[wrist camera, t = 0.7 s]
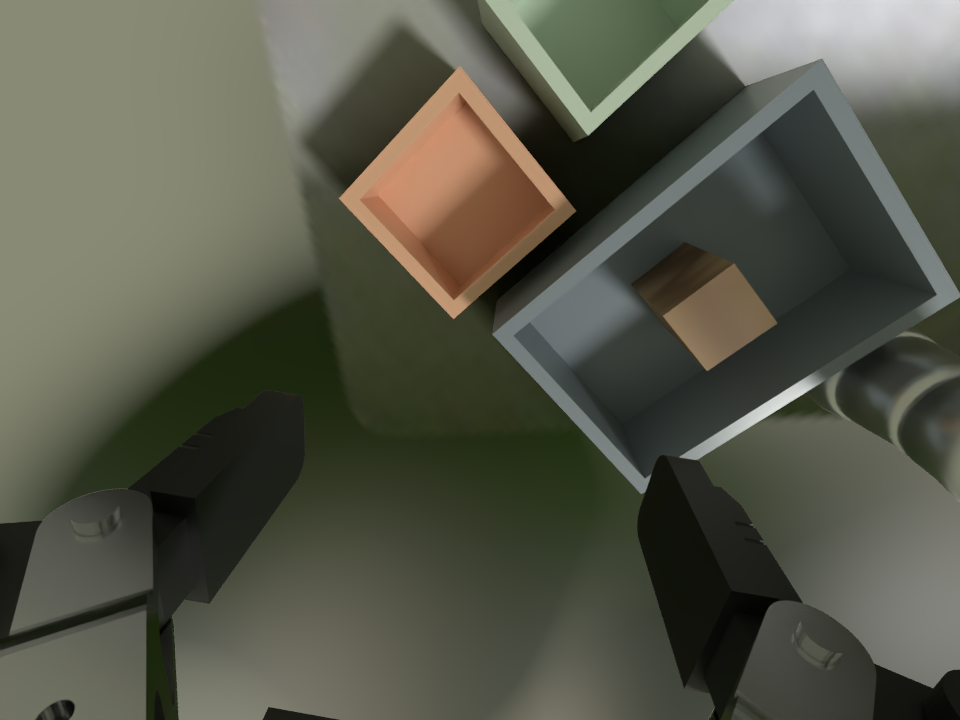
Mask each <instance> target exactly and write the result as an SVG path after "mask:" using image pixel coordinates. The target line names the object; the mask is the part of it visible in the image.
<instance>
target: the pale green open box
mask: <svg viewBox="0 0 960 720" xmlns="http://www.w3.org/2000/svg"><path fill="white" fill-rule="evenodd" d="M477 1H478V6H479V10H480V15H481V19H482V24H483V26H484V27H485V29H486V30H487V31H488V33H489V34H490V35H491V36H492V38H493V39H494V40H495V42H496V43H497V44H498V46H499V47H500V48H501V49H502V51H503V52H504V53H505V55H506V56H507V57H508V59H509V60H510V61H511V62H512V64H513V65H514V66H515V68H516V69H517V70H518V71H519V73H520V74H521V75H522V77H523V78H524V79H525V81H526V82H527V83H528V84H529V86H530V87H531V88H532V90H533V91H534V92H535V94H536V95H537V96H538V97H539V99H540V100H541V101H542V103H543V104H544V105H545V107H546V108H547V109H548V110H549V112H550V113H551V114H552V116H553V117H554V118H555V119H556V121H557V122H558V123H559V125H560V126H561V127H562V129H563V130H564V131H565V132H566V134H567V135H568V136H569V138H570V139H571V140H572V142H575V141H578V140H580V139H582V138H584V137H586V136H588V135H589V134H590V133H592V132H593V131H594V130H595V129H596V128H597V127H598V126H599V125H600V124H601V123H602V122H603V121H604V120H606V119H607V118H608V117H609V116H610V115H611V114H612V113H613V112H614V111H615V110H616V109H617V108H618V107H620V106H621V105H622V104H623V103H624V102H625V101H626V100H627V99H628V98H629V97H630V96H631V95H632V94H634V93H635V92H636V91H637V90H638V89H639V88H640V87H641V86H642V85H643V84H644V83H645V82H646V81H648V80H649V79H650V78H651V77H652V76H653V75H654V74H655V73H656V72H657V71H658V70H659V69H660V68H662V67H663V66H664V65H665V64H666V63H667V62H668V61H669V60H670V59H671V58H672V57H673V56H674V55H676V54H677V53H678V52H679V51H680V50H681V49H682V48H683V47H684V46H685V45H686V44H687V43H688V42H690V41H691V40H692V39H693V38H694V37H695V36H696V35H697V34H698V33H699V32H700V31H701V30H702V29H703V28H705V27H706V26H707V25H708V24H709V23H710V22H711V21H712V20H713V19H714V18H715V17H716V16H717V15H719V14H720V13H721V12H722V11H723V10H724V9H725V8H726V7H727V6H728V5H729V4H730V3H731V2H733V1H734V0H477Z"/></svg>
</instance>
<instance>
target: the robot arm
mask: <svg viewBox="0 0 960 720" xmlns="http://www.w3.org/2000/svg"><path fill="white" fill-rule="evenodd" d="M304 437H305V435H304V403H303V399H302V397H301V396H300V395H294V394H289V393H282V392H276V391H270V390H265V391H263V392H262V393H261V394H260V395H259V396H258V397H256V398H255V399H254V400H253V401H252V402H250V403H249V404H248V405H247V406H246V407H245V408H244V409H242V408H235V409H233V410H231V411H229V412H226V413H224V414H222V415H219V416H217V417H215V418H213V419H212V420H211V421H209V422H208V423H207V424H206V425H205V426H203V427H202V428H201V429H200V430H199V431H197V434H196V435H193V436H191V437H190V438H189V439H188V440H186V441H185V442H184V443H183V445H182V447H178V448H177V449H175V450H174V451H173V452H172V453H171V454H169V455H168V456H167V457H166V458H165V459H163V460H162V461H161V462H160V463H158V464H157V465H156V466H155V467H154V468H152V469H151V470H150V471H149V472H148V473H147V474H145V475H144V476H143V477H141V478H140V479H139V480H138V481H137V482H135V483H134V484H133V485H132V486H131V487H129V488H128V489H109V490H103V491H98V492H95V493H90V494H87V495H84V496H81V497H79V498H77V499H74V500H72V501H70V502H68V503H66V504H64V505H62V506H61V507H59V508H58V509H56V510H54V511H53V512H52V513H51V514H49V515H48V516H47V517H46V518H45V519H44V520H43V521H32V522H17V523H5V524H4V523H3V524H0V720H179V716H178V697H177V696H178V695H177V677H176V676H177V675H176V657H175V636H174V622H173V617H172V615H173V613H174V612H175V611H176V610H177V608H178V607H179V606H180V604H181V603H182V602H183V600H184V599H186V600H191V601H197V602H203V603H208V604H209V603H210V602H211V600H212V599H213V598H214V596H215V595H216V593H217V592H218V591H219V589H220V588H221V586H222V585H223V583H224V582H225V581H226V579H227V578H228V577H229V575H230V574H231V572H232V571H233V570H234V568H235V567H236V565H237V564H238V562H239V561H240V560H241V558H242V557H243V556H244V554H245V553H246V551H247V550H248V549H249V547H250V546H251V544H252V543H253V542H254V540H255V539H256V537H257V536H258V534H259V533H260V532H261V530H262V529H263V528H264V526H265V525H266V523H267V522H268V520H269V519H270V518H271V516H272V515H273V513H274V512H275V511H276V509H277V508H278V507H279V505H280V504H281V502H282V501H283V499H284V498H285V497H286V495H287V494H288V492H289V491H290V490H291V488H292V487H293V485H294V484H295V483H296V481H297V480H298V477H299V476H300V473H301V470H302V467H303V463H304V456H305V438H304ZM637 532H638V538H639V542H640V545H641V549H642V552H643V555H644V558H645V562H646V565H647V568H648V571H649V575H650V578H651V581H652V585H653V588H654V591H655V595H656V598H657V601H658V604H659V608H660V611H661V614H662V617H663V620H664V624H665V627H666V631H667V634H668V637H669V640H670V644H671V647H672V650H673V653H674V657H675V660H676V663H677V667H678V670H679V673H680V677H681V680H682V683H683V686H684V689H689V690H694V691H700V692H706V693H710V695H711V698H712V700H713V703H714V706H715V708H714V710H713V712H712V713H711V715H710V717H709V719H708V720H960V670H952V671H949V672H947V673H946V674H945V675H944V676H943V677H942V678H941V680H940V681H939V682H938V683H937V685H936V686H935V687H934V688H931V687H928V686H926V685H923V684H921V683H919V682H916V681H914V680H912V679H909V678H907V677H904V676H902V675H900V674H897V673H895V672H892V671H890V670H888V669H885V668H883V667H881V666H878V665H876V664H874V663H873V661H872V659H871V657H870V655H869V653H868V652H867V651H866V649H865V648H864V646H863V645H862V644H861V643H860V642H859V640H858V639H857V638H856V637H855V636H854V635H853V634H852V633H851V632H850V631H849V630H848V629H846V628H845V627H844V626H842V625H841V624H840V623H839V622H837V621H836V620H835V619H833V618H832V617H830V616H829V615H827V614H825V613H824V612H822V611H820V610H817V609H816V608H813V607H811V606H809V605H806V604H803V602H802V601H801V599H800V598H799V596H798V594H797V593H796V591H795V590H794V588H793V587H792V585H791V583H790V582H789V580H788V579H787V577H786V575H785V574H784V572H783V571H782V569H781V568H780V566H779V564H778V563H777V561H776V560H775V558H774V557H773V555H772V554H771V552H770V550H769V549H768V547H767V546H766V545H764V544H763V539H762V538H761V536H760V535H759V533H758V531H757V530H756V529H755V528H753V524H752V522H751V520H750V519H749V517H748V515H747V514H746V513H745V511H744V509H743V508H742V506H741V505H740V504H739V503H738V502H737V501H736V500H734V499H733V498H732V497H731V496H730V495H729V494H728V493H727V492H725V491H724V490H723V489H722V488H721V487H715V486H713V484H712V482H711V481H710V479H709V477H708V476H707V474H706V472H705V470H704V469H703V467H702V465H701V464H700V462H698V461H697V460H692V459H686V458H680V457H673V456H667V455H661V456H659V457H658V459H657V461H656V463H655V465H654V468H653V471H652V474H651V477H650V480H649V483H648V486H647V489H646V492H645V495H644V498H643V501H642V503H641V506H640V509H639V514H638V522H637ZM263 720H337V719H331V718H325V717H320V716H315V715H309V714H303V713H298V712H293V711H287V710H282V709H276V708H270V707H269V708H268V710H267V712H266V714H265V716H264V718H263Z"/></svg>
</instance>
